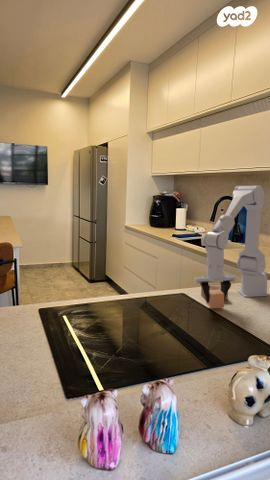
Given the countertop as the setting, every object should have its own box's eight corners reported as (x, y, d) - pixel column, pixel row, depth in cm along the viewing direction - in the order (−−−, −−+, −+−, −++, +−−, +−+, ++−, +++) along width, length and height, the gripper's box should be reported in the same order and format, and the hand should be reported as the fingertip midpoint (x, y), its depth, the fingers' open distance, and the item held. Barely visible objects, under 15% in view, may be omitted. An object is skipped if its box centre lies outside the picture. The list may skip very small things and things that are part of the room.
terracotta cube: (219, 302, 122) (219, 289, 121) (224, 307, 117) (224, 293, 116) (206, 303, 122) (206, 290, 121) (210, 308, 117) (210, 294, 116)
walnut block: (220, 294, 135) (220, 285, 134) (227, 301, 127) (227, 291, 127) (201, 295, 134) (201, 286, 134) (207, 302, 126) (207, 292, 126)
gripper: (198, 268, 113) (198, 306, 115) (239, 266, 113) (238, 304, 116) (193, 263, 120) (193, 299, 122) (232, 262, 120) (231, 297, 123)
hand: (215, 301), depth 119 cm, fingers closed on terracotta cube, 5 cm apart
